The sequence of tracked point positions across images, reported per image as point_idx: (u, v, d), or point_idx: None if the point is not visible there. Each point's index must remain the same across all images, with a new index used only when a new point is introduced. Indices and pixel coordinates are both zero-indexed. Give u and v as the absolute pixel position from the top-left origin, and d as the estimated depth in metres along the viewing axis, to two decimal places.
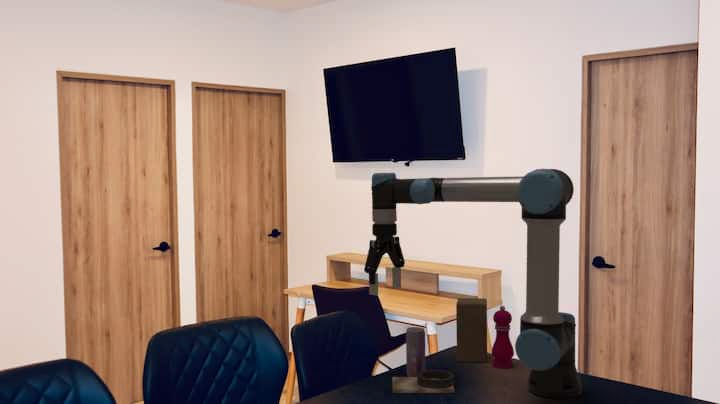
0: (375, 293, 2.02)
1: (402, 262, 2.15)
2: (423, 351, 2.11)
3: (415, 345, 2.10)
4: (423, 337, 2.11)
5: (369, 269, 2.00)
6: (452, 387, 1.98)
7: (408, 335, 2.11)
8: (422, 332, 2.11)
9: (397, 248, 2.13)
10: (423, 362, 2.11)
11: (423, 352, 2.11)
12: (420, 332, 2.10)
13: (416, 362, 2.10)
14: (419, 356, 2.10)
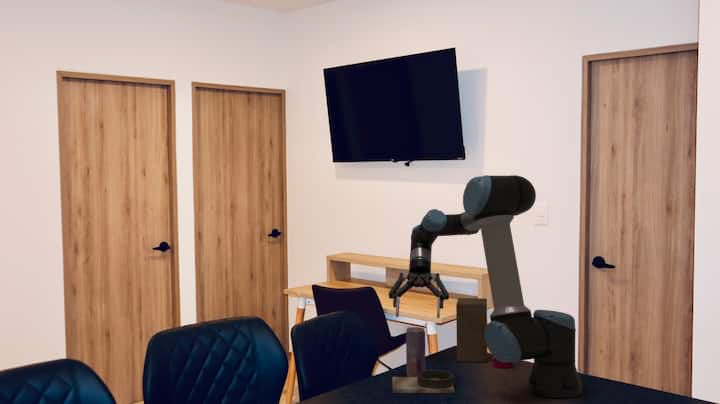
0: None
1: (444, 294, 2.26)
2: (423, 351, 2.11)
3: (415, 345, 2.10)
4: (423, 337, 2.11)
5: None
6: (452, 387, 1.98)
7: (408, 335, 2.11)
8: (422, 332, 2.11)
9: (438, 283, 2.30)
10: (423, 362, 2.11)
11: (423, 352, 2.11)
12: (420, 332, 2.10)
13: (416, 362, 2.10)
14: (419, 356, 2.10)
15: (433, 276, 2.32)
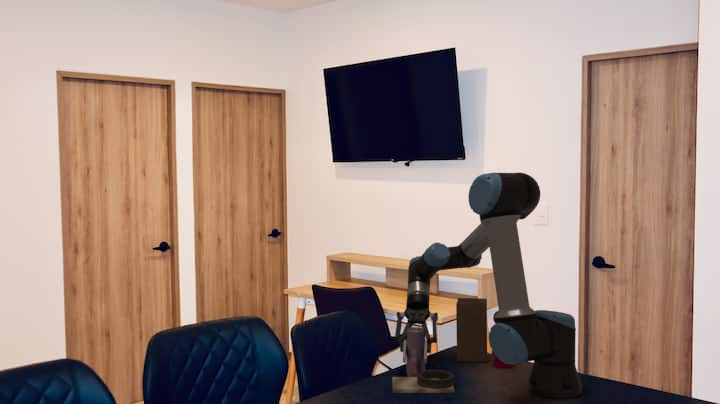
0: (403, 357, 2.10)
1: None
2: (423, 351, 2.11)
3: (415, 344, 2.10)
4: (423, 337, 2.11)
5: None
6: (452, 387, 1.98)
7: (408, 335, 2.11)
8: (422, 332, 2.11)
9: (432, 322, 2.17)
10: (423, 362, 2.11)
11: (423, 352, 2.11)
12: (420, 332, 2.10)
13: (416, 362, 2.10)
14: (419, 356, 2.10)
15: (431, 314, 2.20)
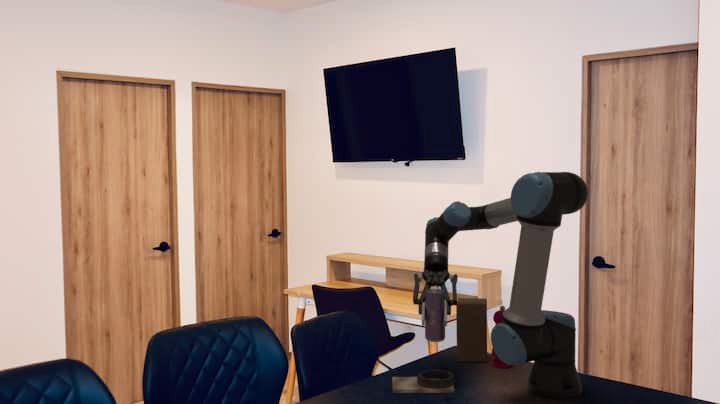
0: None
1: None
2: (443, 313, 2.00)
3: (434, 306, 1.99)
4: (443, 298, 2.00)
5: None
6: (452, 387, 1.98)
7: (427, 296, 2.00)
8: (442, 293, 2.00)
9: (452, 284, 2.06)
10: (443, 325, 2.00)
11: (443, 314, 2.00)
12: (440, 293, 1.99)
13: (436, 325, 1.99)
14: (439, 318, 1.99)
15: (451, 276, 2.09)
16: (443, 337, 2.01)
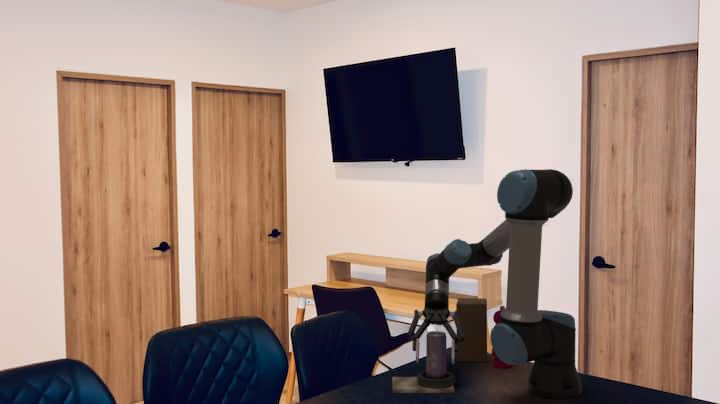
0: None
1: (459, 335, 2.03)
2: (444, 356, 2.01)
3: (436, 349, 2.00)
4: (444, 342, 2.01)
5: None
6: (452, 387, 1.98)
7: (429, 339, 2.01)
8: (444, 336, 2.01)
9: (455, 321, 2.07)
10: (444, 368, 2.01)
11: (444, 357, 2.01)
12: (441, 336, 2.00)
13: (437, 368, 2.00)
14: (440, 362, 2.00)
15: (451, 313, 2.09)
16: None
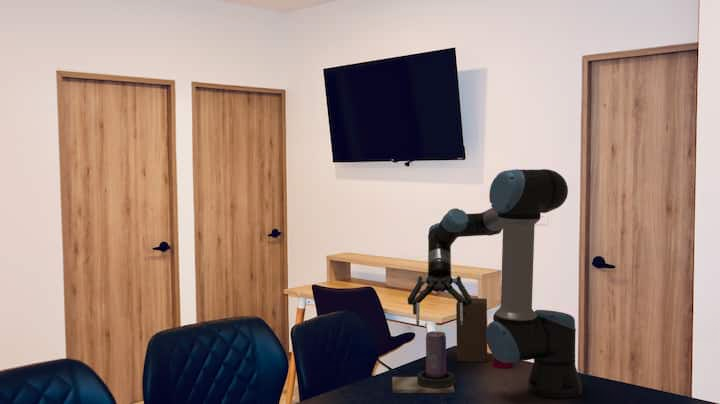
0: (416, 320, 2.11)
1: (467, 299, 2.13)
2: (444, 357, 2.01)
3: (436, 350, 2.00)
4: (444, 342, 2.01)
5: None
6: (452, 387, 1.98)
7: (428, 340, 2.01)
8: (443, 337, 2.00)
9: (459, 287, 2.17)
10: (444, 368, 2.01)
11: (444, 358, 2.01)
12: (441, 337, 2.00)
13: (437, 368, 2.00)
14: (440, 362, 2.00)
15: (454, 279, 2.19)
16: None
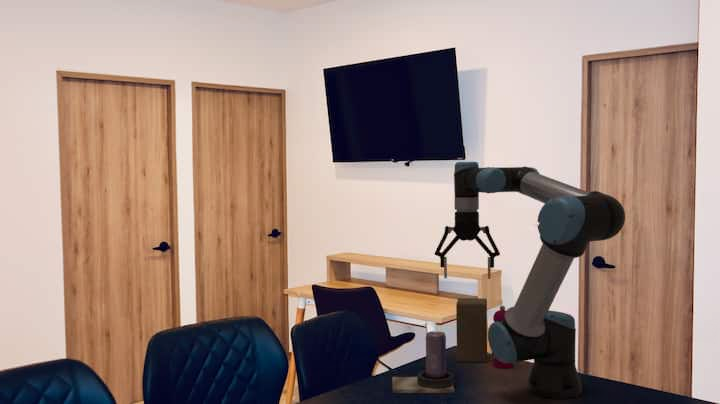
0: (444, 276, 2.13)
1: (495, 253, 2.10)
2: (444, 357, 2.01)
3: (435, 350, 2.00)
4: (444, 342, 2.01)
5: (435, 252, 2.14)
6: (452, 387, 1.98)
7: (428, 340, 2.01)
8: (443, 337, 2.00)
9: None
10: (444, 368, 2.01)
11: (444, 358, 2.01)
12: (441, 337, 2.00)
13: (437, 368, 2.00)
14: (440, 362, 2.00)
15: (482, 228, 2.11)
16: None
